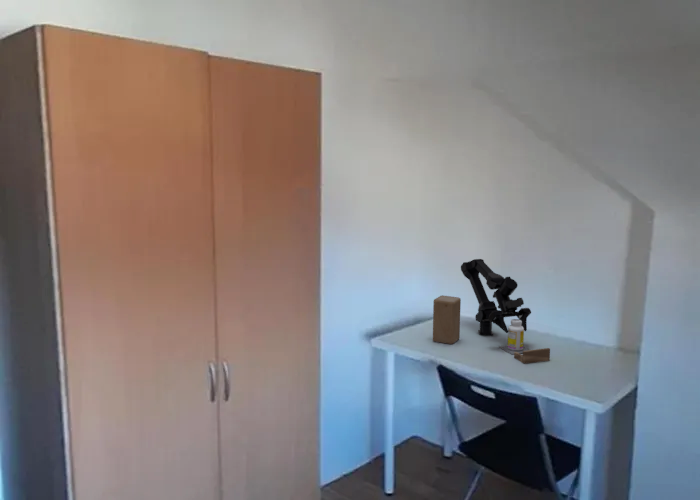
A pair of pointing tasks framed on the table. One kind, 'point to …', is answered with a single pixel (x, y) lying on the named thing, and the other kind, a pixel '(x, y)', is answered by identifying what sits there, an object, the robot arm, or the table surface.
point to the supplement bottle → (515, 335)
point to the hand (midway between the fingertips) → (516, 331)
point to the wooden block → (446, 319)
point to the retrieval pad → (512, 350)
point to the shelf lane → (533, 355)
